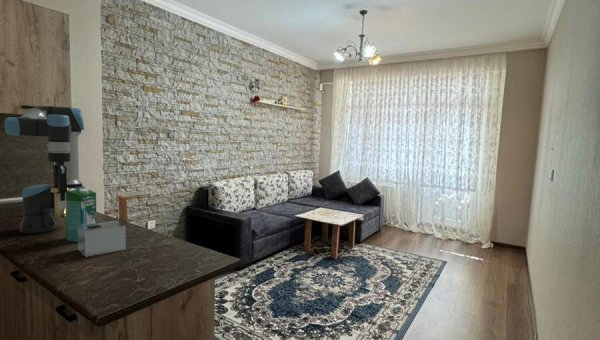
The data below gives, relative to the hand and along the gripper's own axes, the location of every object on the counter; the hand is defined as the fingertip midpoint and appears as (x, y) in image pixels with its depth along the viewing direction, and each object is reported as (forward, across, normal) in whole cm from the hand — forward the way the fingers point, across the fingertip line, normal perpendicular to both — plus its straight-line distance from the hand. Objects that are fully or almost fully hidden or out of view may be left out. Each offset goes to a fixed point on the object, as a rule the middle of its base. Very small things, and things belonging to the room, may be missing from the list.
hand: (60, 206), depth 140 cm
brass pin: (+4, 0, 0) cm, 4 cm away
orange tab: (+4, +3, +24) cm, 24 cm away
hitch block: (+21, +3, +14) cm, 26 cm away
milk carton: (+21, -19, +11) cm, 30 cm away
